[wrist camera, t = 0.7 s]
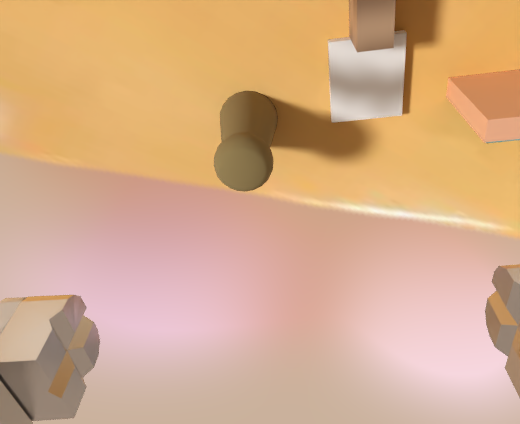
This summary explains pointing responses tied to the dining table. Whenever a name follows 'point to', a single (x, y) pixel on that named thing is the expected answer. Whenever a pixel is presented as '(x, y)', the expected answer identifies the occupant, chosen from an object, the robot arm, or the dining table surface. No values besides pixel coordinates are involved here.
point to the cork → (246, 141)
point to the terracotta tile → (488, 103)
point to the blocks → (367, 64)
